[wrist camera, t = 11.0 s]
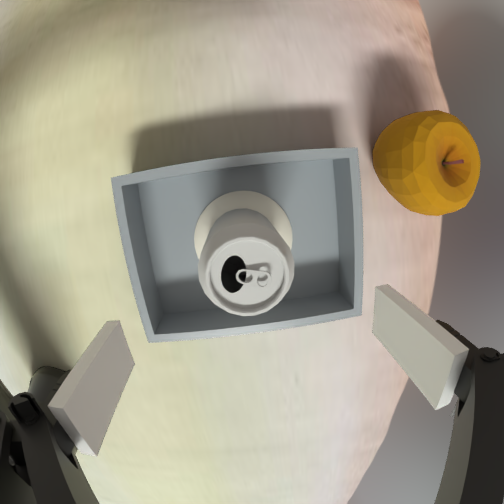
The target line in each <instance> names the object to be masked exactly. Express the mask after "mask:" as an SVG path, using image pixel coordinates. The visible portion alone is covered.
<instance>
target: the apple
mask: <svg viewBox="0 0 504 504" xmlns="http://www.w3.org/2000/svg"><path fill="white" fill-rule="evenodd" d="M373 166H374V169H375V172H376V174H377V176H378V178H379V180H380V182H381V183H382V184H383V186H384V187H385V188H386V190H387V191H388V192H389V193H390V194H391V195H392V196H393V197H394V198H395V199H396V200H397V201H398V202H399V203H400V204H402V205H403V206H404V207H405V208H407V209H409V210H410V211H413V212H417V213H420V214H424V215H435V216H439V215H443V214H446V213H450V212H454V211H457V210H459V209H461V208H463V207H465V206H466V205H467V203H468V201H469V200H470V199H471V197H472V196H473V193H474V191H475V188H476V185H477V181H478V178H479V173H480V157H479V153H478V148H477V145H476V143H475V141H474V139H473V138H472V136H471V134H470V132H469V130H468V129H467V127H466V126H465V125H464V124H463V123H462V122H461V121H460V120H459V119H458V118H456V116H453V115H451V114H449V113H445V112H442V111H439V110H433V111H424V112H416V113H412V114H409V115H406V116H404V117H401V118H399V119H397V120H394V121H393V122H392V123H391V124H389V125H388V126H387V127H386V128H385V129H384V130H383V131H382V133H381V134H380V136H379V137H378V139H377V141H376V144H375V146H374V149H373Z"/></svg>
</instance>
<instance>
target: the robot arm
mask: <svg viewBox="0 0 504 504" xmlns="http://www.w3.org/2000/svg"><path fill="white" fill-rule="evenodd" d="M372 333H373V334H374V335H375V336H376V337H377V338H378V340H379V341H380V342H381V343H382V344H383V346H384V347H385V348H386V349H387V350H388V352H389V353H390V354H391V355H392V356H393V358H394V359H395V360H396V361H397V363H398V364H399V365H400V366H401V367H402V369H403V370H404V371H405V372H406V374H407V375H408V376H409V377H410V378H411V380H412V381H413V382H414V383H415V385H416V386H417V387H418V388H419V390H420V391H421V392H422V394H423V395H424V396H425V397H426V399H427V400H428V401H429V402H430V404H431V405H432V406H433V408H434V409H435V410H437V409H439V408H441V407H443V406H445V405H447V404H449V403H450V401H451V399H452V396H453V394H454V393H455V394H456V395H457V396H458V397H459V398H458V400H457V402H456V405H455V407H454V409H453V412H452V414H451V416H453V415H454V413H455V417H454V424H453V430H452V437H451V441H450V447H449V452H448V456H447V461H446V465H445V469H444V473H443V477H442V481H441V484H440V488H439V491H438V494H437V497H436V500H435V503H434V504H502V503H503V497H504V353H503V354H500V353H499V352H498V351H497V350H495V349H493V348H488V347H484V348H480V349H478V348H477V347H476V346H475V345H473V344H472V343H471V342H470V341H468V340H467V339H466V338H465V337H464V336H462V335H460V333H459V332H457V331H456V330H454V329H453V328H452V327H451V326H450V325H448V324H447V323H444V322H442V321H440V320H437V321H435V320H433V319H432V318H431V317H429V316H428V315H427V314H426V313H424V312H423V311H422V310H421V309H419V308H418V307H417V306H416V305H414V304H413V303H412V302H410V301H409V300H408V299H407V298H405V297H404V296H403V295H401V294H400V293H399V292H397V291H396V290H395V289H394V288H392V287H391V286H390V285H388V284H386V285H382V286H377V287H375V304H374V318H373V330H372ZM134 365H135V363H134V360H133V358H132V355H131V352H130V350H129V347H128V344H127V341H126V338H125V335H124V333H123V330H122V327H121V324H120V320H119V321H107V322H106V323H105V324H104V326H103V327H102V328H101V330H100V331H99V332H98V334H97V335H96V337H95V338H94V339H93V341H92V342H91V343H90V345H89V346H88V347H87V349H86V350H85V352H84V353H83V354H82V356H81V357H80V359H79V360H78V361H77V363H76V364H75V366H74V367H73V369H72V370H68V371H67V372H64V371H62V370H59V369H57V368H53V367H42V368H40V369H38V370H37V371H36V373H35V374H34V375H33V376H32V378H31V380H30V385H29V390H28V392H23V393H19V394H17V395H15V396H14V397H13V395H12V394H11V393H10V392H9V390H8V389H7V388H6V386H5V385H4V384H3V382H2V381H1V380H0V504H99V502H98V500H97V498H96V497H95V495H94V493H93V491H92V489H91V487H90V485H89V483H88V481H87V479H86V477H85V475H84V473H83V471H82V469H81V467H80V464H79V462H78V460H77V457H76V456H75V454H76V452H77V449H78V450H79V451H80V452H81V453H82V454H85V455H91V456H96V457H97V455H98V453H99V450H100V447H101V445H102V442H103V439H104V437H105V434H106V432H107V429H108V427H109V424H110V421H111V419H112V417H113V414H114V412H115V409H116V407H117V404H118V402H119V399H120V397H121V395H122V392H123V390H124V388H125V385H126V383H127V381H128V378H129V376H130V374H131V372H132V369H133V367H134Z"/></svg>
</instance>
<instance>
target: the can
mask: <svg viewBox="0 0 504 504" xmlns="http://www.w3.org/2000/svg"><path fill="white" fill-rule="evenodd" d="M198 275H199V282H200V284H201V286H202V288H203V290H204V293H205V294H206V295H207V296H208V298H209V299H210V300H211V301H212V302H213V303H214V304H215V305H217V306H219V307H220V308H222V309H224V310H225V311H227V312H229V313H231V314H236V315H240V316H254V315H258V314H261V313H264V312H267V311H268V310H270V309H271V308H273V307H274V306H275V305H277V304H278V303H279V302H280V301H281V300H282V298H283V297H284V296H285V294H286V293H287V292H288V290H289V289H290V286H291V283H292V281H293V278H294V259H293V256H292V253H291V250H290V247H289V246H288V245H287V243H286V242H285V241H284V239H283V238H282V237H281V235H280V234H279V233H278V232H277V230H276V229H275V228H274V226H273V225H272V224H271V223H270V221H269V220H268V219H267V217H265V216H264V215H262V214H261V213H259V212H258V211H254V210H251V209H247V208H242V209H234V210H231V211H228V212H226V213H224V214H223V215H222V216H220V217H219V218H218V219H217V220H216V221H215V223H214V224H213V226H212V227H211V229H210V231H209V234H208V236H207V239H206V241H205V244H204V246H203V249H202V251H201V255H200V259H199V263H198Z"/></svg>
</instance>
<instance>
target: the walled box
mask: <svg viewBox="0 0 504 504" xmlns="http://www.w3.org/2000/svg"><path fill="white" fill-rule="evenodd" d="M111 181H112V188H113V195H114V202H115V208H116V214H117V219H118V225H119V230H120V235H121V240H122V245H123V250H124V255H125V259H126V263H127V268H128V272H129V276H130V280H131V284H132V288H133V292H134V296H135V299H136V303H137V307H138V310H139V314H140V317H141V320H142V324H143V327H144V330H145V333H146V337H147V340H148V343H152V342H169V341H183V340H196V339H207V338H217V337H227V336H236V335H244V334H252V333H260V332H268V331H275V330H282V329H288V328H295V327H301V326H307V325H313V324H319V323H324V322H330V321H335V320H340V319H345V318H350V317H355V316H360V315H362V295H363V218H362V197H361V182H360V169H359V158H358V149H357V148H325V149H306V150H290V151H278V152H267V153H256V154H247V155H238V156H230V157H222V158H215V159H208V160H201V161H195V162H189V163H183V164H177V165H171V166H166V167H160V168H155V169H150V170H145V171H140V172H135V173H131V174H126V175H122V176H117V177H113V178H111ZM242 208H247V209H251V210H254V211H258V212H259V213H261V214H262V215H264V216H265V217H267V219H268V220H269V221H270V223H271V224H272V225H273V226H274V228H275V229H276V230H277V232H278V233H279V234H280V235H281V237H282V238H283V239H284V241H285V242H286V243H287V245H288V246H289V247H290V250H291V253H292V256H293V259H294V278H293V281H292V283H291V286H290V289H289V290H288V292H287V293H286V294H285V296H284V297H283V298H282V300H281V301H280V302H279V303H278V304H277V305H275V306H274V307H273V308H271V309H270V310H268V311H267V312H264V313H261V314H258V315H254V316H240V315H236V314H231V313H229V312H227V311H225V310H224V309H222V308H220V307H219V306H217V305H215V304H214V303H213V302H212V301H211V300H210V299H209V298H208V296H207V295H206V294H205V293H204V290H203V288H202V286H201V284H200V282H199V275H198V263H199V259H200V255H201V251H202V249H203V246H204V244H205V241H206V239H207V236H208V234H209V231H210V229H211V227H212V226H213V224H214V223H215V221H216V220H217V219H218V218H219V217H220V216H222V215H223V214H224V213H226V212H228V211H231V210H234V209H242Z"/></svg>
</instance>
